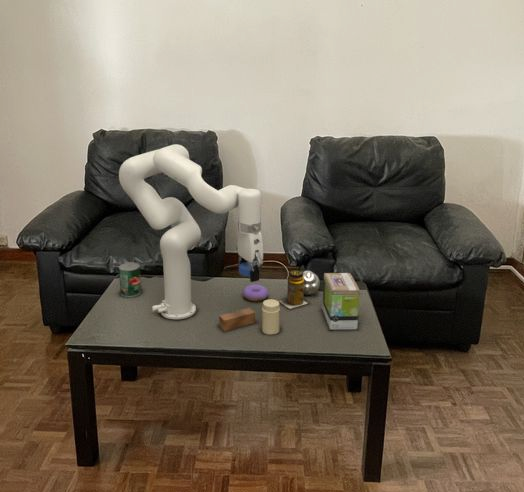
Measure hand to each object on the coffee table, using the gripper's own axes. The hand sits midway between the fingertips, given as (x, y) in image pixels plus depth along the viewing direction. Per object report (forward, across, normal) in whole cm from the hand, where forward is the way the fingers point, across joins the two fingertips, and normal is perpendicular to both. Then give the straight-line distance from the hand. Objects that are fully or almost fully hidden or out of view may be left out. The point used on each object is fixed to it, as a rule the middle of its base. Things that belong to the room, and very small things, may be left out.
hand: (249, 276), depth 184 cm
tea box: (+18, -12, -30) cm, 37 cm away
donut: (+19, +18, -13) cm, 29 cm away
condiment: (+19, +7, -23) cm, 31 cm away
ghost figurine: (+19, +10, -32) cm, 39 cm away
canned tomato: (+19, +46, +27) cm, 57 cm away
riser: (+19, +3, +3) cm, 19 cm away
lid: (-3, 0, 0) cm, 3 cm away
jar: (+18, -6, -5) cm, 20 cm away
